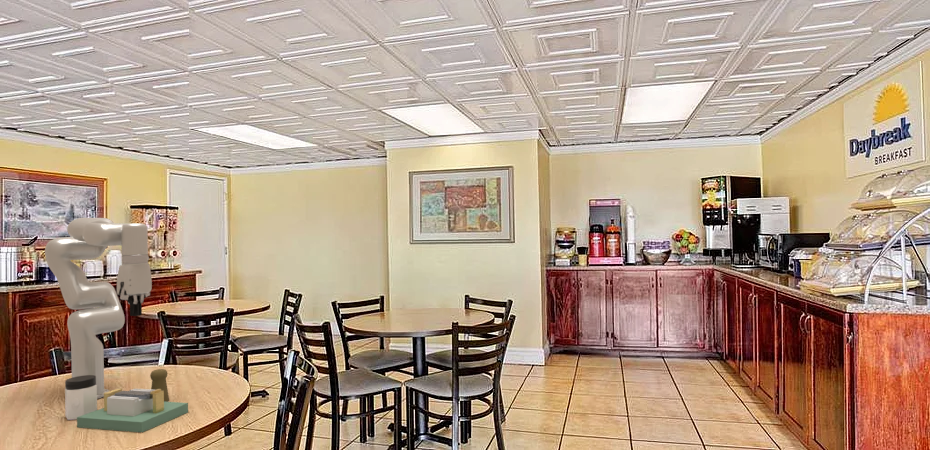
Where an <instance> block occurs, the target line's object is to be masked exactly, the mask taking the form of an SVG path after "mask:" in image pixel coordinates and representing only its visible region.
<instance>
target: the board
mask: <svg viewBox="0 0 930 450" xmlns="http://www.w3.org/2000/svg"><path fill="white" fill-rule="evenodd" d="M121 391H123V388H115V389H112V390H109V392H106V393H104V397H103V407H102V408H99V409H97V410H96V411H93V412H90V413H88V414H85V415H82V416H79V417H77V419H76V427H77V428H83V429H92V430H93V429H94V430H107V431H119V432H120V431H121V432H128V431H129V432H131V433H141V432H142V433H144V432H147V431H149V430H151V429H154V428H156V427H158V426H160V425H162V424H164V423H167V422H169V421H171V420H174V419H177V418H179V417H181V416H183V415H186V414H187V413H189V402H180V401H179V402H176V401H168V402H164V410H163V411H161V412H158V413H153V398H152V399H139V398H137V397H120V396H115V393H118V392H121ZM128 391H138V392H149V391H152V390H151V388H150V389H146V388H133V389H129V390H128Z"/></svg>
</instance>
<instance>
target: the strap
mask: <svg viewBox="0 0 930 450" xmlns="http://www.w3.org/2000/svg"><path fill="white" fill-rule="evenodd" d="M152 391H154V390H152ZM115 396H120V397H137V398H139V399H152V398H153V394H151V391H149V392H138V391H129V390H122V391H121V392H118V393H115Z"/></svg>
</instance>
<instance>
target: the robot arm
mask: <svg viewBox="0 0 930 450" xmlns="http://www.w3.org/2000/svg"><path fill="white" fill-rule="evenodd" d="M66 229H67V233H68V235H69V236H70V237H69V236H68V237H58V238H54V239H51V240H49V241H48V242H47V243H46V245H45V248H44V258H45V262H46V264H47V266H48V267H49V269H50V271H51V272H52V273H53V275H54V276H55V278H56V280H57V283H58V286H59V290H60V292H61V295H62V298H63V300H64V303H65V305H66V307H68V309H69V310H77V311H73V312H72V313H71V314H70V315H69V316H68V318H67V322H66V323H67V325H66V326H67V329H68V333H69V338H70V339H69V340H70V350H71V353H70V356H71V378H73V377H78V376H85V375H94V376H96V385H97V400H99V399H102V398H104V393H106V392H109V391H110V389H106V388H105V365H104V363H105V362H104V361H105V359H104V358H105V356H104V344H103V343H102V341H101V340H100V339H99V338H98V337H97V336H96V335H100V334H105V333H106V334H107V333H113V332H116V331H119V330H121V329H122V328H123V327H124V324H125V320H126V319H125V314H124V310H123V307H122V305H121V302H120V300H123V301H126V302H127V304H128V305H129V316H130V317H138V316H142V315H143V310H142V307H143V306H142V304H143V303H144V300H145V298H147V297H150V296H151V291H152V289H153V288H152V287H153V285H152V284H153V282H152V279H153V278H152V272H151V271H152V270H151V266H150V264H149V260H150V256H149V244H148V243H149V242H148V241H149V238H148V237H149V236H148V230H149V229H148V226H147V224H145V223H142V222H141V223H135V222H134V223H132V222H131V223H130V222H129V223H123V222H121V223H120V222H119V223H118V222H116V223H115V222H113V221H112V220H111V219H110V218H106V217H78V218H75V219H73V220H72V221H70V222H69V223H68V225H67V228H66ZM113 246H120V247H121V265H119V267H118V269H117V270H118V271H117V277H116V278H117V279H116V288H115V287H114V286H113V285H112V284H111V283H110V282H108V281H91V282H90V281H89V280H88V278H87V275H86V273H85V271H84V270H83V269H82V268H81V267H80V266H79V265H78V264H76V263H74V262H72V260H73V261H75V260H77V261H78V260H92V259H93V260H94V259H98V258H100V257H101V256H102V255H103V254H104V252H105V251H106V250H107V248H108V247H113ZM119 296H120V297H119Z"/></svg>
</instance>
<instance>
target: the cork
mask: <svg viewBox="0 0 930 450" xmlns="http://www.w3.org/2000/svg"><path fill="white" fill-rule="evenodd" d="M167 377H168V370H166V368H159V369H158V368H157V369H154V370H152V371H151V373H150V375H149V378H150V379H151V388H150V389H151V390H156V389H161V391H164V402H170V396H169V389H168V385H167Z"/></svg>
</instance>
